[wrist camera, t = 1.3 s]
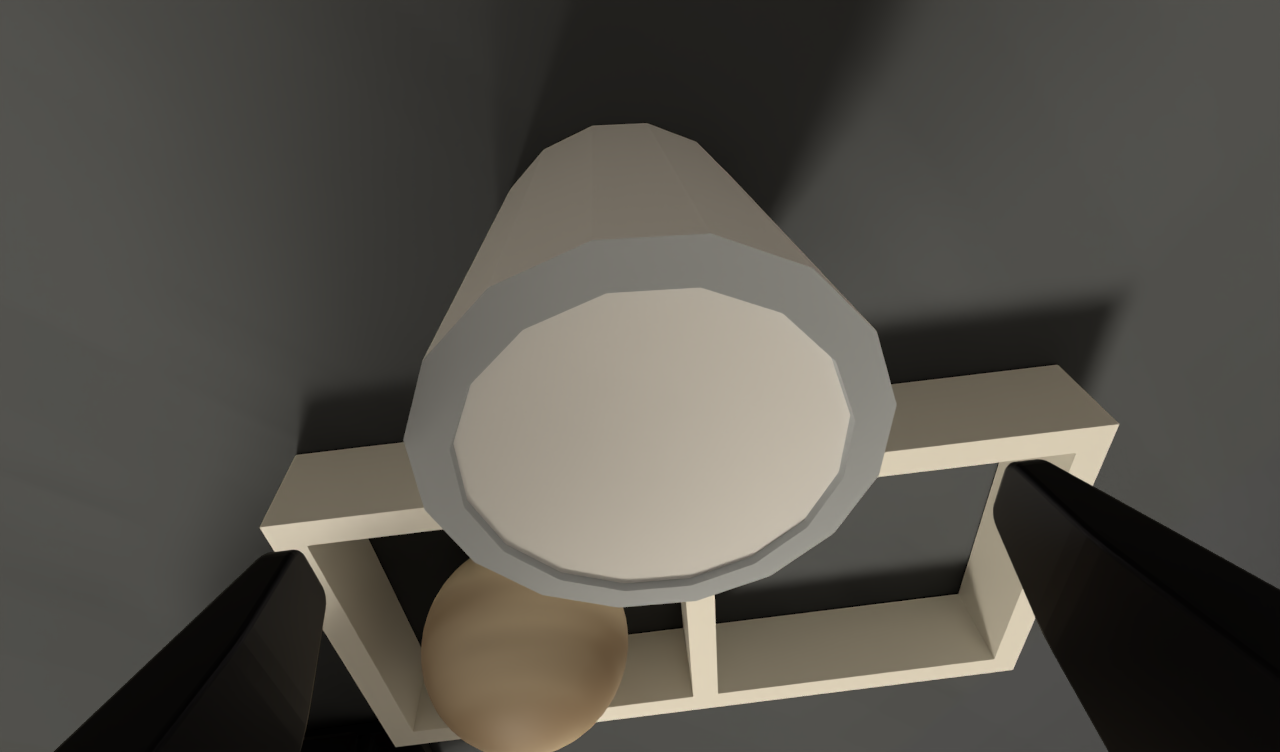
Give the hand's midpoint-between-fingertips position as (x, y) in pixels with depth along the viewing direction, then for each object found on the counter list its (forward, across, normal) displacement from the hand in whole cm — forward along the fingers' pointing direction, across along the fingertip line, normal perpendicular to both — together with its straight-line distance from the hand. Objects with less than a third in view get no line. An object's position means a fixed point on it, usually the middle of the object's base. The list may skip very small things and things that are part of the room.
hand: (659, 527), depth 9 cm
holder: (+8, -1, +10) cm, 13 cm away
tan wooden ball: (+8, +4, +10) cm, 13 cm away
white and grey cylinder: (+8, 0, 0) cm, 8 cm away
